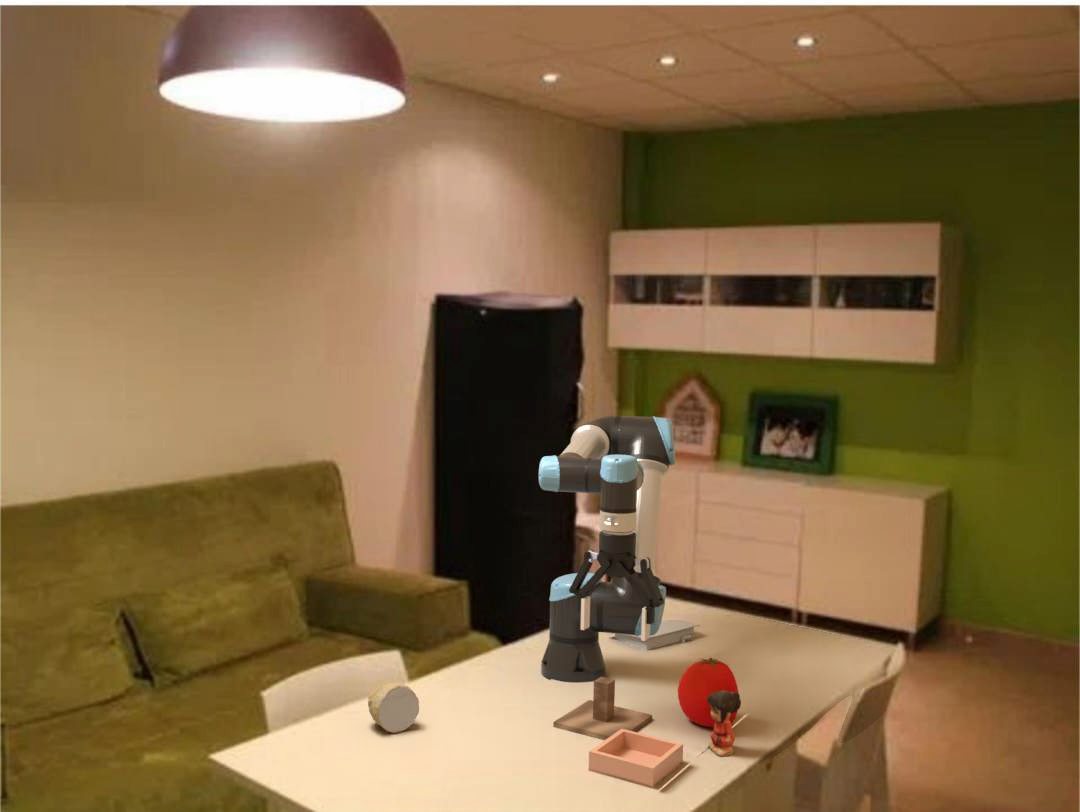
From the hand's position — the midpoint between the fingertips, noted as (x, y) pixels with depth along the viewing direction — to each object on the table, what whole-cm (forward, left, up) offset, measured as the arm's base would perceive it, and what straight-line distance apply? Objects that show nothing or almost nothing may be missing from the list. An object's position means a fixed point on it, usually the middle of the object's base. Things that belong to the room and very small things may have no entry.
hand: (614, 633), depth 213 cm
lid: (-1, -1, -19) cm, 19 cm away
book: (-18, +59, -20) cm, 64 cm away
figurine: (+24, +1, -19) cm, 31 cm away
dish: (+14, -16, -19) cm, 29 cm away
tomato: (+17, +11, -19) cm, 28 cm away
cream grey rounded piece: (-36, -26, -19) cm, 49 cm away
